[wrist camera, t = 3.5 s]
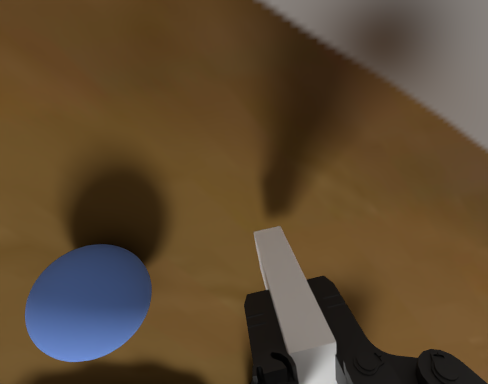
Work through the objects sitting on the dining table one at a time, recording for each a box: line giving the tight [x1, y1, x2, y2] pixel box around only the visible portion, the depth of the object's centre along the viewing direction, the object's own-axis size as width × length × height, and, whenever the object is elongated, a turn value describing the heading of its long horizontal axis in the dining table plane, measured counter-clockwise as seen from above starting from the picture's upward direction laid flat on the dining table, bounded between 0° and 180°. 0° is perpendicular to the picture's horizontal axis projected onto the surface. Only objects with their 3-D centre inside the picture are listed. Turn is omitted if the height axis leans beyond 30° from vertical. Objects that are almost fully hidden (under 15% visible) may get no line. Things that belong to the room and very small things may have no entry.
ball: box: [25, 244, 151, 362], centre depth 13 cm, size 6×6×6 cm
